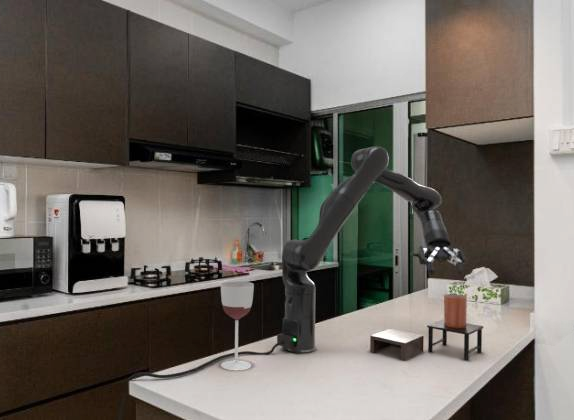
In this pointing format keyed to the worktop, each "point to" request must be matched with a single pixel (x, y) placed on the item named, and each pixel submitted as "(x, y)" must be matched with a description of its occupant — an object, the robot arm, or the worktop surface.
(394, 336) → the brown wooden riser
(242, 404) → the worktop surface
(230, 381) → the worktop surface
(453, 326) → the cup
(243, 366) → the wineglass
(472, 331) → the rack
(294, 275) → the robot arm
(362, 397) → the worktop surface
